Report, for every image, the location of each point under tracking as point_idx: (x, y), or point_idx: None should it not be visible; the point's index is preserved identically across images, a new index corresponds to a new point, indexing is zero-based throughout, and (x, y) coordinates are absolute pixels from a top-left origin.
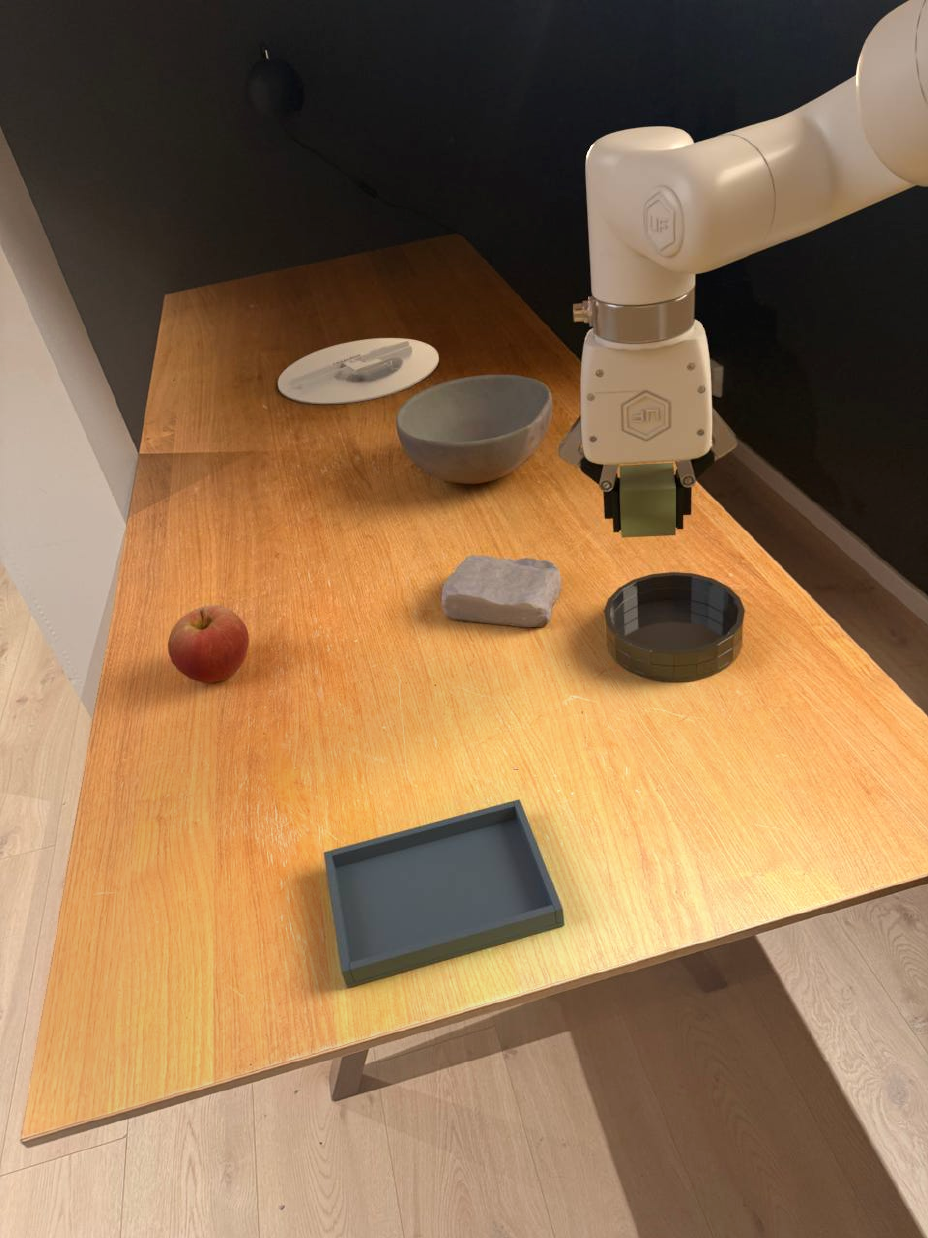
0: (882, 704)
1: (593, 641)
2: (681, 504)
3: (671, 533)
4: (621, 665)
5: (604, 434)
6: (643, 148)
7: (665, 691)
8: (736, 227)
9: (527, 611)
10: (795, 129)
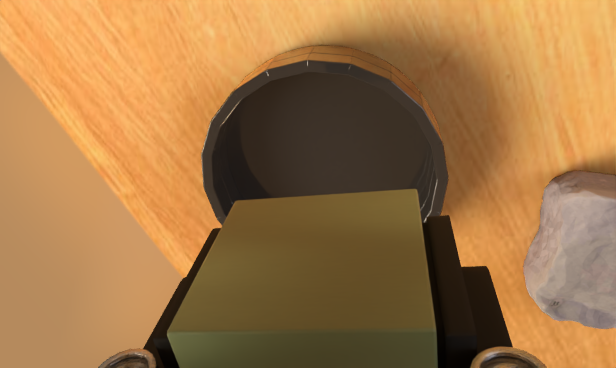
0: (7, 25)
1: (462, 144)
2: (187, 287)
3: (245, 202)
4: (409, 79)
5: None
6: None
7: (327, 19)
8: None
9: (600, 187)
10: None
